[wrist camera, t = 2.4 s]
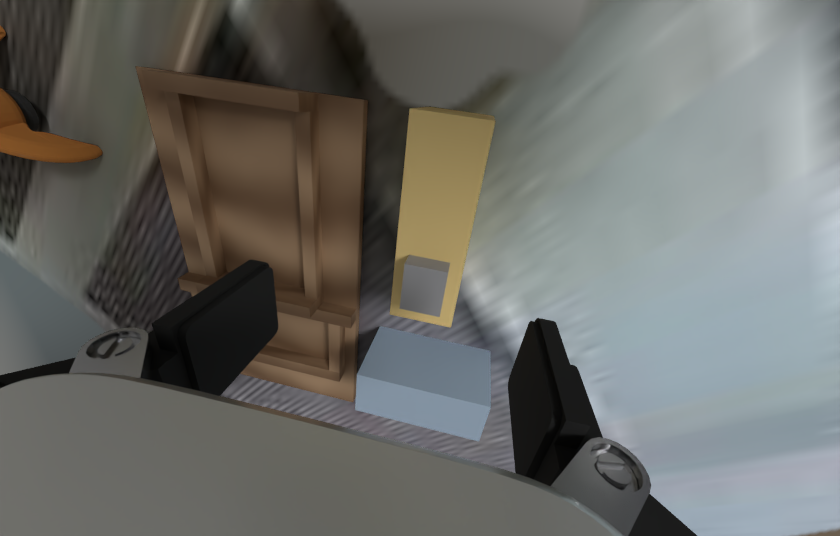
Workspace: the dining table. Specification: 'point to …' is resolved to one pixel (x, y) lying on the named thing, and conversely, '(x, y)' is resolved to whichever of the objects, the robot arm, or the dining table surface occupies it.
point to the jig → (271, 209)
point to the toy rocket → (35, 133)
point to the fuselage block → (437, 209)
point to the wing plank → (426, 383)
